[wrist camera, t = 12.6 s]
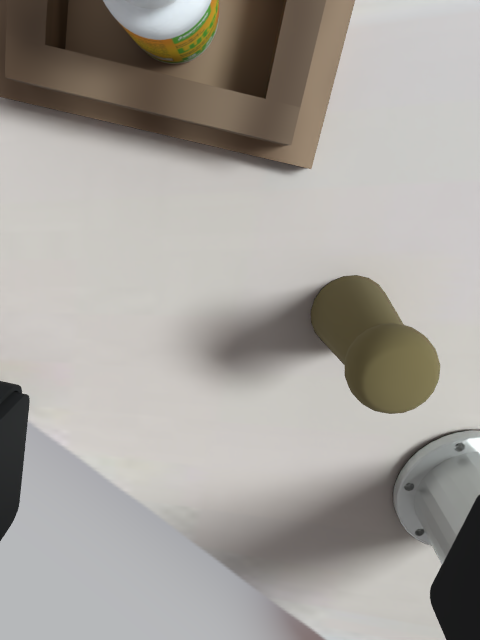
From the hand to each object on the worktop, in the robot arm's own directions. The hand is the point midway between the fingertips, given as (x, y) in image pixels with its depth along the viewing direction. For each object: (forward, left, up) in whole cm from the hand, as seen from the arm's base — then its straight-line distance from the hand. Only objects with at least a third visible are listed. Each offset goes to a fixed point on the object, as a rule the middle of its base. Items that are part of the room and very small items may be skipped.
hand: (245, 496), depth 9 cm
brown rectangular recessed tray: (+6, -13, -25) cm, 28 cm away
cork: (-10, +3, -25) cm, 27 cm away
